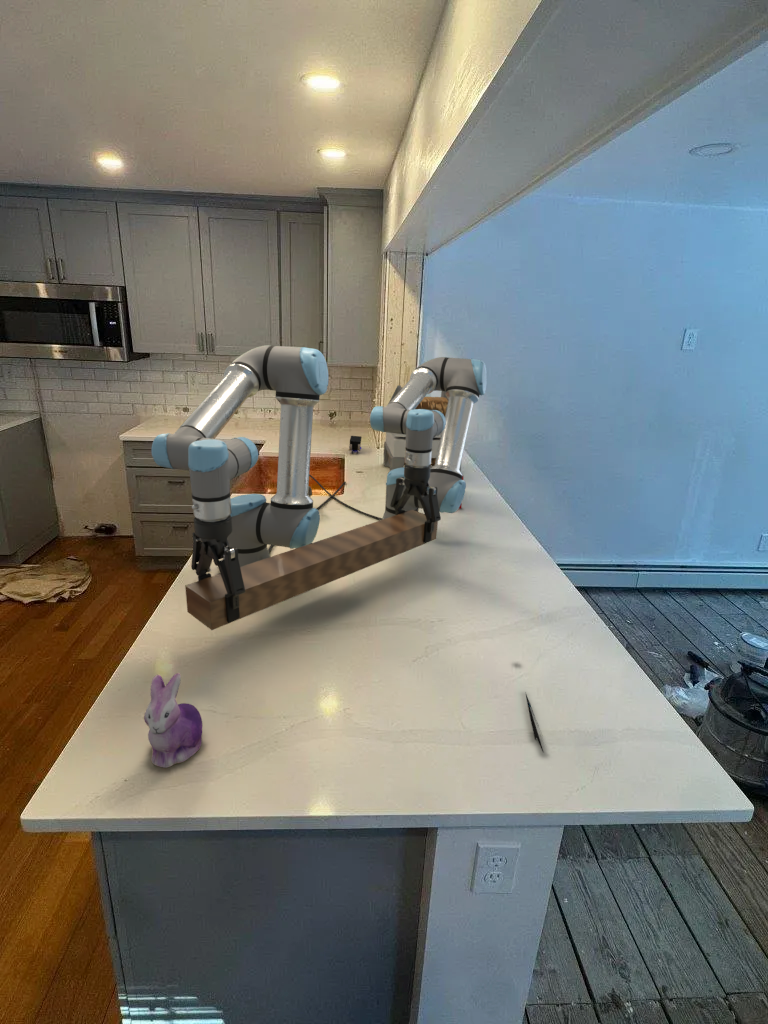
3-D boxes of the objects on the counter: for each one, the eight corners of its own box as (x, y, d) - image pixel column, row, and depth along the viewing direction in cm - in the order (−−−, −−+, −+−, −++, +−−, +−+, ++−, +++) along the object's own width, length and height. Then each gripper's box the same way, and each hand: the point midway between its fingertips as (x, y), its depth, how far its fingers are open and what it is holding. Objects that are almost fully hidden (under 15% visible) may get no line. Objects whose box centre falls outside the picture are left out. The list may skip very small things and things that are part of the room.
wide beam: (411, 529, 176) (412, 509, 174) (436, 539, 170) (438, 518, 168) (187, 612, 124) (185, 585, 122) (211, 630, 118) (209, 602, 116)
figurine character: (361, 457, 304) (361, 447, 317) (361, 444, 301) (362, 434, 314) (348, 456, 304) (349, 447, 317) (348, 443, 300) (349, 434, 314)
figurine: (152, 779, 93) (143, 704, 88) (145, 738, 102) (136, 668, 97) (210, 760, 98) (205, 688, 92) (199, 723, 106) (193, 655, 101)
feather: (517, 669, 129) (522, 662, 128) (543, 757, 102) (550, 750, 102) (511, 665, 129) (516, 659, 128) (535, 752, 102) (542, 745, 101)
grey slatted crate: (382, 463, 289) (386, 382, 275) (445, 464, 293) (451, 384, 279) (390, 482, 257) (394, 392, 243) (460, 483, 261) (468, 394, 247)
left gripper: (168, 505, 121) (178, 597, 129) (227, 537, 107) (233, 638, 115) (200, 498, 126) (207, 586, 134) (260, 527, 112) (264, 624, 120)
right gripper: (379, 458, 166) (377, 528, 174) (440, 476, 152) (435, 551, 160) (397, 454, 172) (393, 522, 179) (457, 471, 157) (451, 544, 165)
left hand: (219, 610), depth 124 cm, fingers closed on wide beam, 10 cm apart
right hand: (413, 536), depth 170 cm, fingers closed on wide beam, 10 cm apart
